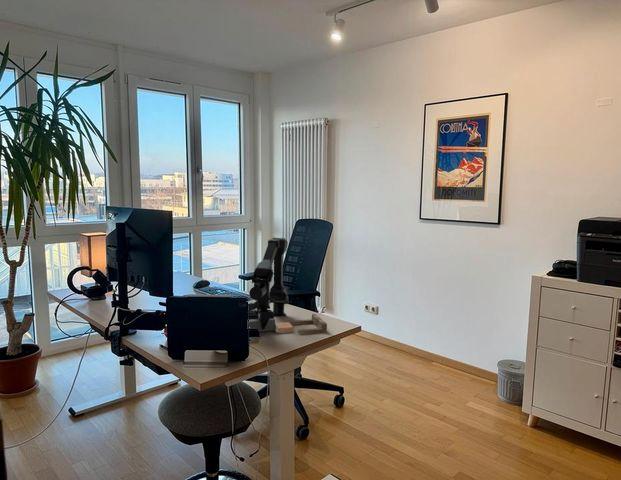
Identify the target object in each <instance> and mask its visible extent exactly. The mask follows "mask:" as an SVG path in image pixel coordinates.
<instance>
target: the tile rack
mask: <svg viewBox="0 0 621 480" xmlns="http://www.w3.org/2000/svg"><path fill="white" fill-rule="evenodd" d="M289 323H290V324H291V325H292V326H296V325H297V326H298V325H309V324H310V325H311V324H312V325H314V326H315V327H316V328H303V329H302V328H301V329H298V330H297V334H299V335H309V334H311V335H312V334H320V333H322V334H323V333H327V330H328V324H327V322H326V321H325V320H324V319H323V318H321V317H320V316H319V315H318V314H316V313H312V314H311V318H310V319H309V318H308V319H296V320H295V319H294V320H289Z"/></svg>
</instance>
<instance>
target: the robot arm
mask: <svg viewBox="0 0 621 480" xmlns="http://www.w3.org/2000/svg"><path fill="white" fill-rule="evenodd" d="M288 245H289V243H288V240H287V239H286V237H272V238H270V239H268V240H267V246H266V248H265V253H264V255H263V258H262V260H261V261H260V262H258V263H257V265H256V268H254V272H253V274H252V280H251V283H252V284H253V287H251V288H250V290H249V292H248V293H249V297H250V298H251V299H250V300H248V301H247V302H248V304H249V312H248V313H250V312H252V311H253V312H254V313H255V314H256V315H257V319H260V321H261V328H262V329H264V328H265V326H266V324H267V323H268V321H269V319H271V318H274V319H275V317H284V316H285V317H286V316H287V313H285V305H287V304H289V296H288V293H287V288H286V286H285V285H284V255H285V253H286V251H287V249H288ZM272 281H273V285H272V286H271V282H272ZM270 286H271V287H270ZM270 304H272V310H271V306H270Z"/></svg>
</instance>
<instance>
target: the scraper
mask: <svg viewBox="0 0 621 480" xmlns="http://www.w3.org/2000/svg"><path fill="white" fill-rule="evenodd" d="M248 320H249V327H250V329H258V330H259V332H260V333H261V332H274V331H275V332H276V333H278V325H277V324H276V323H277V322H276V319H275V317H274V318H271V319H269V321H268V323H267V324H266V326H265V328H264V329H262V328H261V321H260V319H258V318H255V319H248ZM259 332H258V333H259Z"/></svg>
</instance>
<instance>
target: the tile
mask: <svg viewBox="0 0 621 480" xmlns="http://www.w3.org/2000/svg"><path fill="white" fill-rule="evenodd" d="M276 324H277V325H278V332H277V334H282V333H283V334H284V333H292V332H294V325H291V324H290V321H289V322H287V321H286V322H276Z"/></svg>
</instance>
